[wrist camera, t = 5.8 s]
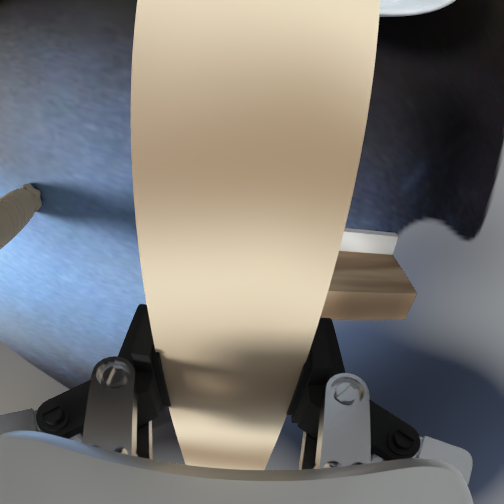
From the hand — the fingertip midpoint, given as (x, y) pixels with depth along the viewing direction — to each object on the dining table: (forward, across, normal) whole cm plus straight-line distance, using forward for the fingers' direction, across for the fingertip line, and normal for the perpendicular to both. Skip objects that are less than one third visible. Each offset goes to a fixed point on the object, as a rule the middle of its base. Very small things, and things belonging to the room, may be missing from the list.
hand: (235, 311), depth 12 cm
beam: (0, 0, 0) cm, 0 cm away
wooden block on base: (+16, -10, +7) cm, 20 cm away
